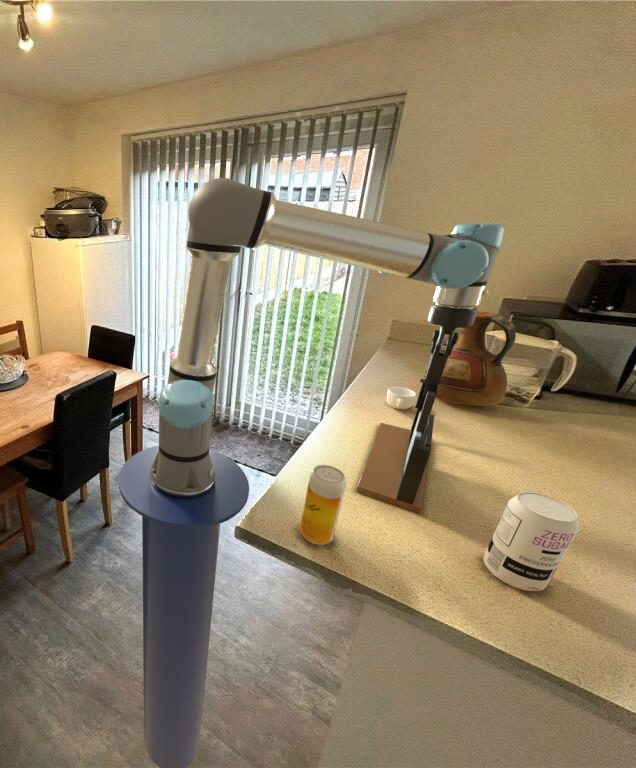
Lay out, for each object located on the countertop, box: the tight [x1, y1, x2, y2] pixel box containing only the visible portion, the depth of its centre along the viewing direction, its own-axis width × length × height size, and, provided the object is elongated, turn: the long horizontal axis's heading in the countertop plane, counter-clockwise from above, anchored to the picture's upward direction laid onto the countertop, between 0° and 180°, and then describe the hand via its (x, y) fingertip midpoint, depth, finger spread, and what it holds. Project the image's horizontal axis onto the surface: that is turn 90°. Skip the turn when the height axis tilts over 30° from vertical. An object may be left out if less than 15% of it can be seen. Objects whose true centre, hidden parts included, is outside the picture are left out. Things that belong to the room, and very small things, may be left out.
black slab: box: [402, 391, 435, 478], centre depth 90 cm, size 1×16×20 cm, turn 142°
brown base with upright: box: [355, 389, 438, 514], centre depth 97 cm, size 12×37×15 cm, turn 142°
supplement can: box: [483, 491, 580, 592], centre depth 66 cm, size 8×8×15 cm
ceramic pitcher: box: [436, 310, 517, 407], centre depth 125 cm, size 20×20×30 cm
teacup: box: [386, 386, 417, 410], centre depth 126 cm, size 10×8×5 cm
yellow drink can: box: [299, 464, 347, 546], centre depth 75 cm, size 6×6×15 cm
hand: (422, 408), depth 89 cm, fingers closed
